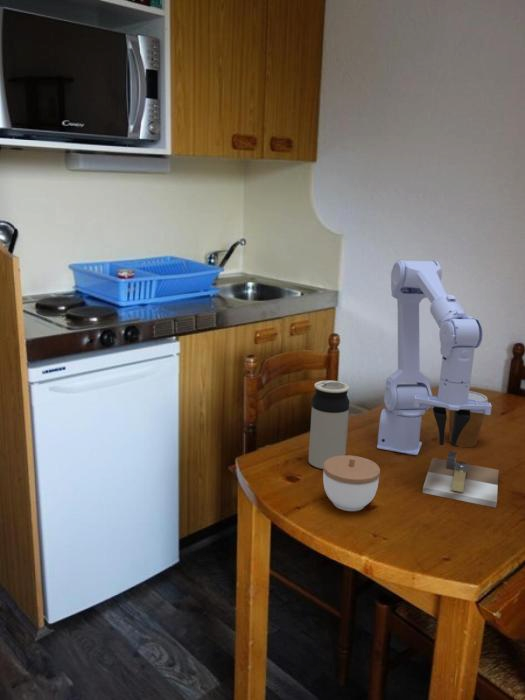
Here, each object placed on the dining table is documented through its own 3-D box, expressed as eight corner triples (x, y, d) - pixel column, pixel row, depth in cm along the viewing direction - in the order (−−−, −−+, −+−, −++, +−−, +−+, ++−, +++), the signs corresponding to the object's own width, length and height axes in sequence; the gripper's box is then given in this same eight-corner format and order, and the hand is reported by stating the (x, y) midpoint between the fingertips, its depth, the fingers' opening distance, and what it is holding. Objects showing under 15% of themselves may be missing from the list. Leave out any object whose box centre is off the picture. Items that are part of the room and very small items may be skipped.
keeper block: (446, 468, 133) (447, 458, 133) (448, 461, 137) (449, 451, 136) (453, 470, 133) (455, 459, 132) (455, 462, 137) (456, 452, 136)
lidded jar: (309, 497, 121) (312, 452, 118) (353, 486, 126) (357, 443, 124) (342, 522, 112) (346, 475, 109) (388, 510, 117) (393, 464, 115)
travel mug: (351, 463, 137) (358, 386, 132) (329, 474, 131) (335, 393, 126) (323, 452, 142) (328, 377, 137) (300, 462, 136) (305, 384, 132)
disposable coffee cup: (477, 453, 145) (484, 405, 142) (437, 443, 150) (443, 396, 147) (487, 441, 153) (493, 394, 150) (448, 432, 158) (454, 387, 155)
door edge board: (422, 492, 124) (423, 487, 124) (431, 462, 139) (432, 457, 139) (496, 507, 119) (496, 502, 119) (497, 474, 134) (498, 469, 134)
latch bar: (453, 472, 131) (455, 460, 130) (467, 474, 130) (468, 463, 129) (449, 489, 123) (451, 477, 122) (464, 492, 122) (466, 480, 121)
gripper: (417, 381, 118) (410, 447, 121) (497, 388, 115) (487, 456, 119) (416, 371, 125) (409, 434, 128) (491, 378, 122) (482, 442, 125)
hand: (447, 443), depth 124 cm, fingers closed
